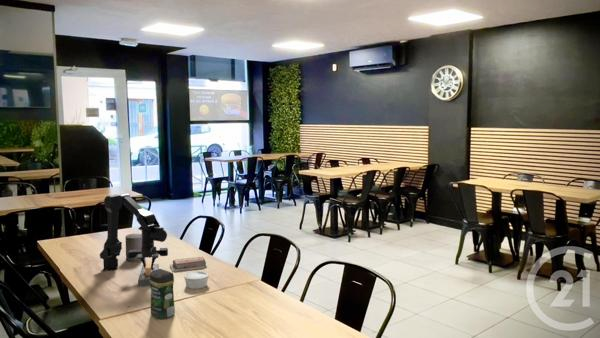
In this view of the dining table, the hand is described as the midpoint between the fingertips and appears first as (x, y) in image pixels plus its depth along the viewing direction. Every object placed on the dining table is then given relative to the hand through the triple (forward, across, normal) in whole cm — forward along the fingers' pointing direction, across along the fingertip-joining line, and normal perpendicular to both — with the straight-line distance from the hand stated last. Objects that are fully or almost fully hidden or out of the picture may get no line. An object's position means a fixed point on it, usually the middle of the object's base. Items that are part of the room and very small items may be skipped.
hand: (148, 269), depth 232 cm
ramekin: (+4, +23, -17) cm, 29 cm away
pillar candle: (+4, -10, +33) cm, 35 cm away
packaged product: (+5, +19, +12) cm, 23 cm away
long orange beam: (+2, 0, 0) cm, 3 cm away
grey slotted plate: (+4, 0, 0) cm, 4 cm away
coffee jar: (+4, +9, -48) cm, 49 cm away
